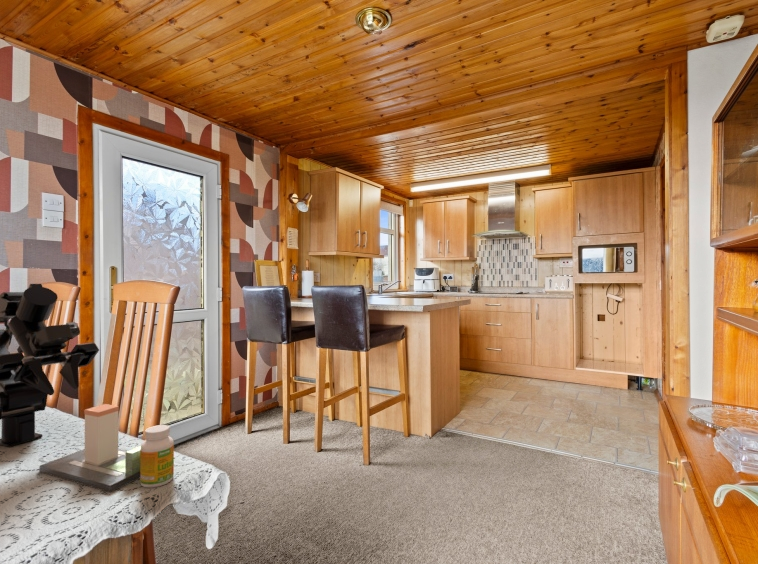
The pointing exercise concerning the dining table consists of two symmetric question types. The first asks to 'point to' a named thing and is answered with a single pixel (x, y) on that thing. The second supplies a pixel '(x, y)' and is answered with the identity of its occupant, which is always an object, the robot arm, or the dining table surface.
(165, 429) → the supplement bottle
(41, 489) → the dining table surface
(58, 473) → the plate
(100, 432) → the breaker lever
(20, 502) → the dining table surface
